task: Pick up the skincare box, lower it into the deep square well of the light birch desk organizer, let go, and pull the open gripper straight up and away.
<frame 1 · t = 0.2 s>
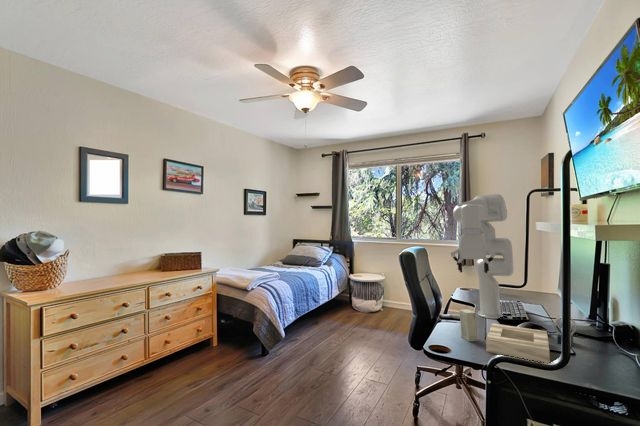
hand: (473, 272, 129), 30 cm above the table, tool pointing down, fingers open, 9 cm apart
organizer: (517, 347, 122), on the table
watch: (565, 343, 125), on the table
skincare box: (469, 339, 132), on the table
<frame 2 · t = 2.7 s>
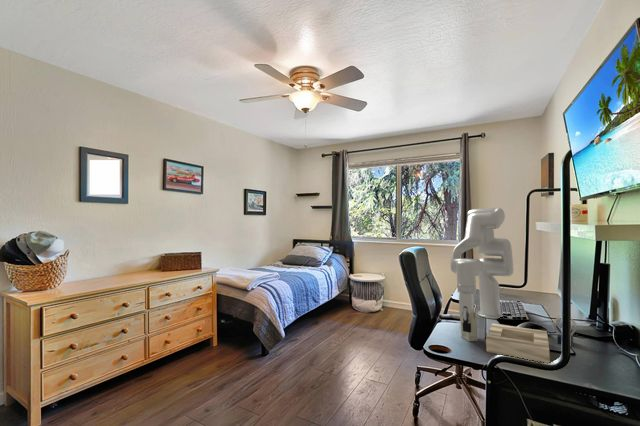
hand: (468, 328, 132), 4 cm above the table, tool pointing down, fingers closed on skincare box, 7 cm apart
skincare box: (469, 339, 132), on the table, touching gripper
everything else where it was.
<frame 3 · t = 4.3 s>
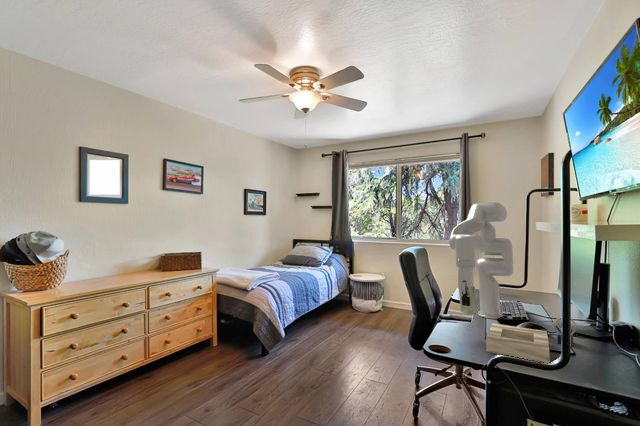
hand: (467, 303, 133), 16 cm above the table, tool pointing down, fingers closed on skincare box, 7 cm apart
skincare box: (468, 313, 133), point 11 cm above the table, touching gripper
everything else where it was.
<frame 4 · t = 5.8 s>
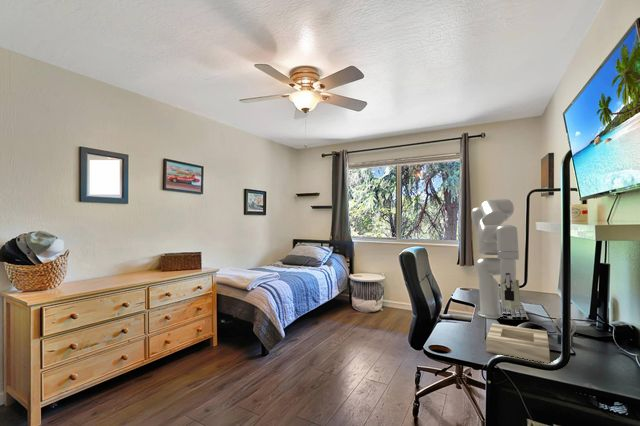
hand: (510, 298, 124), 20 cm above the table, tool pointing down, fingers closed on skincare box, 7 cm apart
skincare box: (511, 309, 123), point 15 cm above the table, touching gripper
everything else where it was.
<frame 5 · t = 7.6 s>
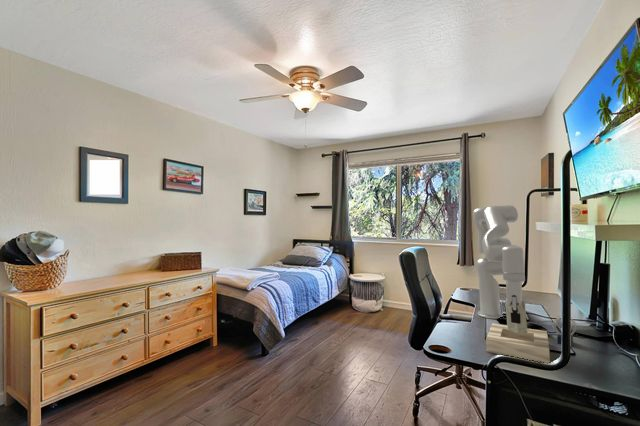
hand: (516, 320, 122), 11 cm above the table, tool pointing down, fingers closed on skincare box, 7 cm apart
skincare box: (517, 331, 122), point 6 cm above the table, touching gripper
everything else where it was.
when the fingers open (7 cm above the table, at t = 9.0 s): skincare box drops 2 cm, resting in organizer.
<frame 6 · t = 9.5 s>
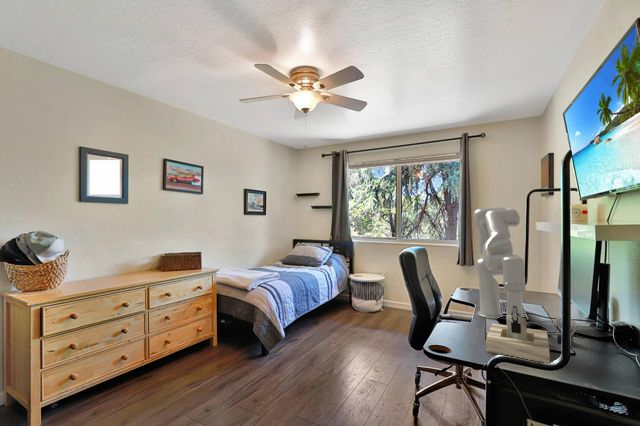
hand: (516, 329, 122), 7 cm above the table, tool pointing down, fingers open, 9 cm apart
skincare box: (517, 347, 122), resting in organizer
everything else where it was.
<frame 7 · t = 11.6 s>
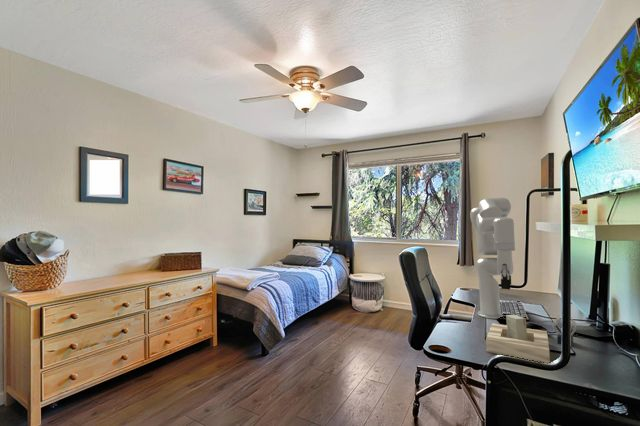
hand: (506, 286, 128), 24 cm above the table, tool pointing down, fingers open, 9 cm apart
nothing on the table moved.
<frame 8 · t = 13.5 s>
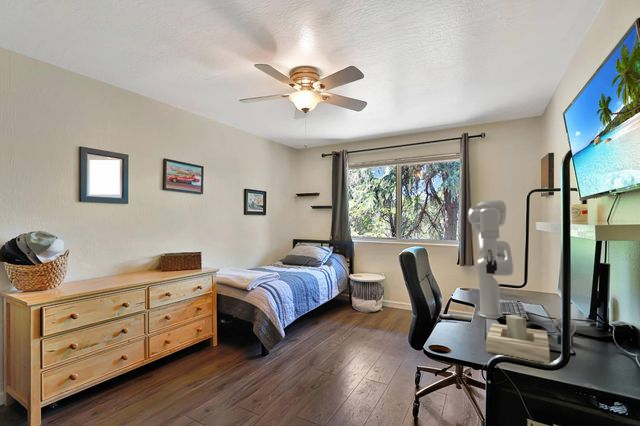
hand: (492, 272, 138), 28 cm above the table, tool pointing down, fingers open, 9 cm apart
nothing on the table moved.
at the end: skincare box 0.6 cm off-centre on the organizer, point 0.0 cm above the organizer's base; skincare box tilted 0°; the gripper is holding nothing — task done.
